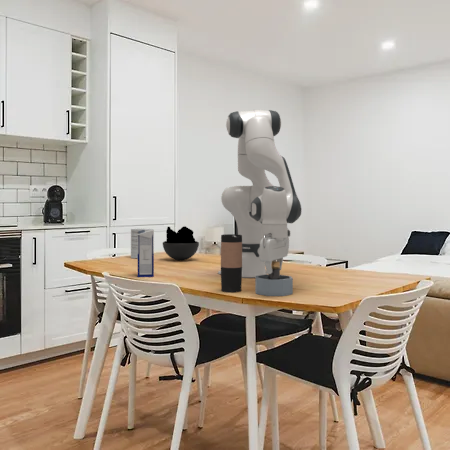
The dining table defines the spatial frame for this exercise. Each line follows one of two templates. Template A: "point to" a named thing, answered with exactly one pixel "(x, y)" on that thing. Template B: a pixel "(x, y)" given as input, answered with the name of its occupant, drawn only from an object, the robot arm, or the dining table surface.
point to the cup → (274, 285)
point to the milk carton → (146, 253)
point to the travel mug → (231, 262)
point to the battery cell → (275, 270)
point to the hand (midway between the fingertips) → (274, 272)
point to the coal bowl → (180, 244)
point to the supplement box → (135, 242)
